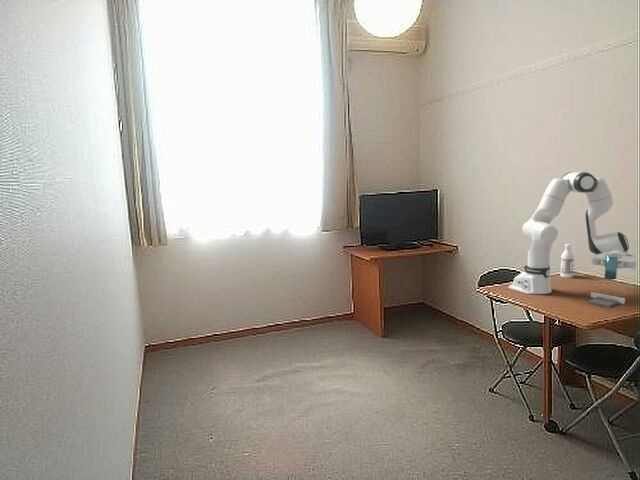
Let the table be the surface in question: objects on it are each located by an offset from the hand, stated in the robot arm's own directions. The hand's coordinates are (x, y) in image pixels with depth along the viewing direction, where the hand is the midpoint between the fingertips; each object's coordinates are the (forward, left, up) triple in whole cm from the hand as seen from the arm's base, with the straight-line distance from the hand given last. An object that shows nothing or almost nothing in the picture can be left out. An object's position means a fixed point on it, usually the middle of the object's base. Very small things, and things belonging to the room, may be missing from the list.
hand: (610, 265), depth 250 cm
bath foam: (-37, +28, -18) cm, 50 cm away
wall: (+1, -3, -18) cm, 18 cm away
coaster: (+2, -10, -18) cm, 20 cm away
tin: (0, +1, -7) cm, 7 cm away
